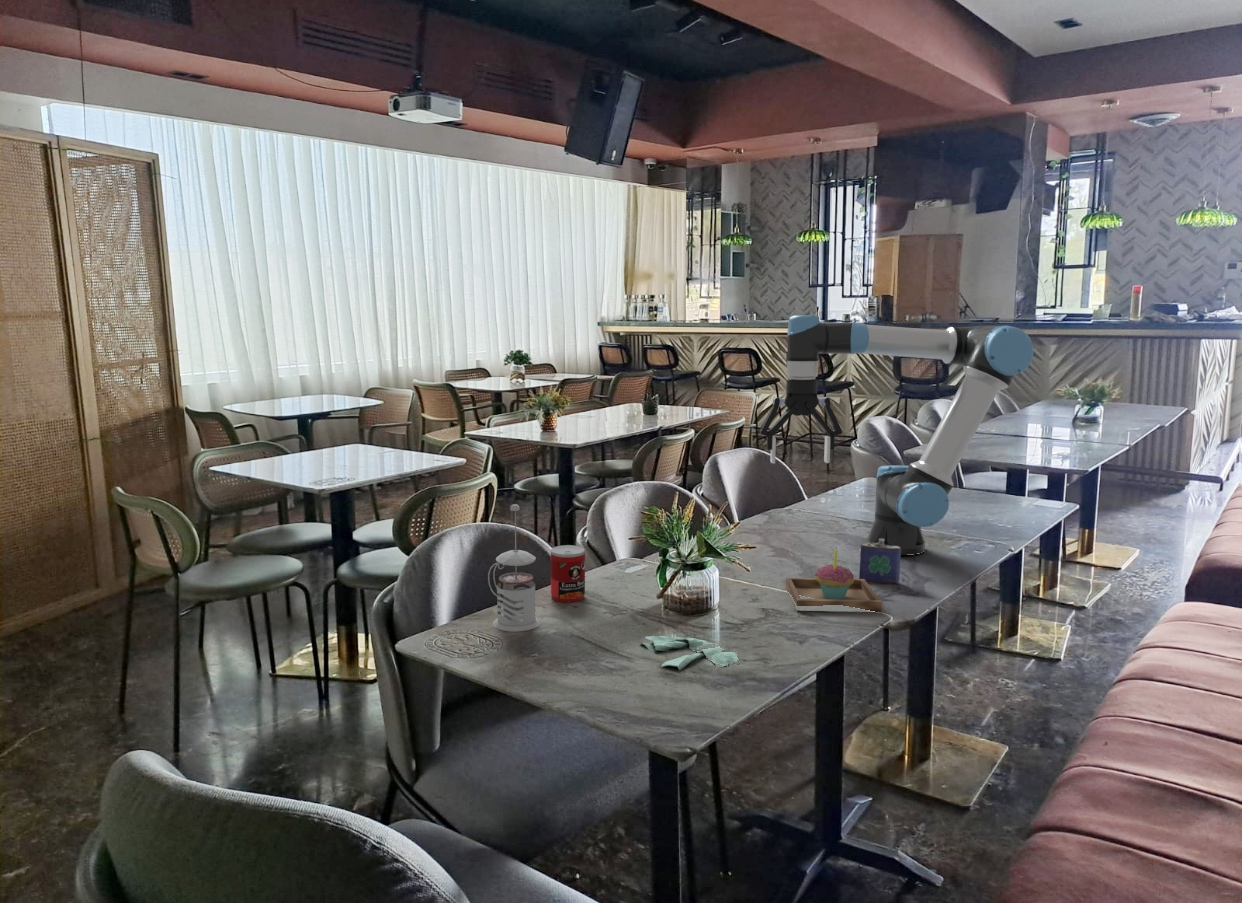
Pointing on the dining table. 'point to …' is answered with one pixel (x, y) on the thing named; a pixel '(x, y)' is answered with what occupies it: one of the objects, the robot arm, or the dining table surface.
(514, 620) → the french press
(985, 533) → the dining table surface
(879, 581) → the flask
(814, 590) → the tray
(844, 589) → the cupcake
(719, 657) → the cloth
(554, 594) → the canned food
